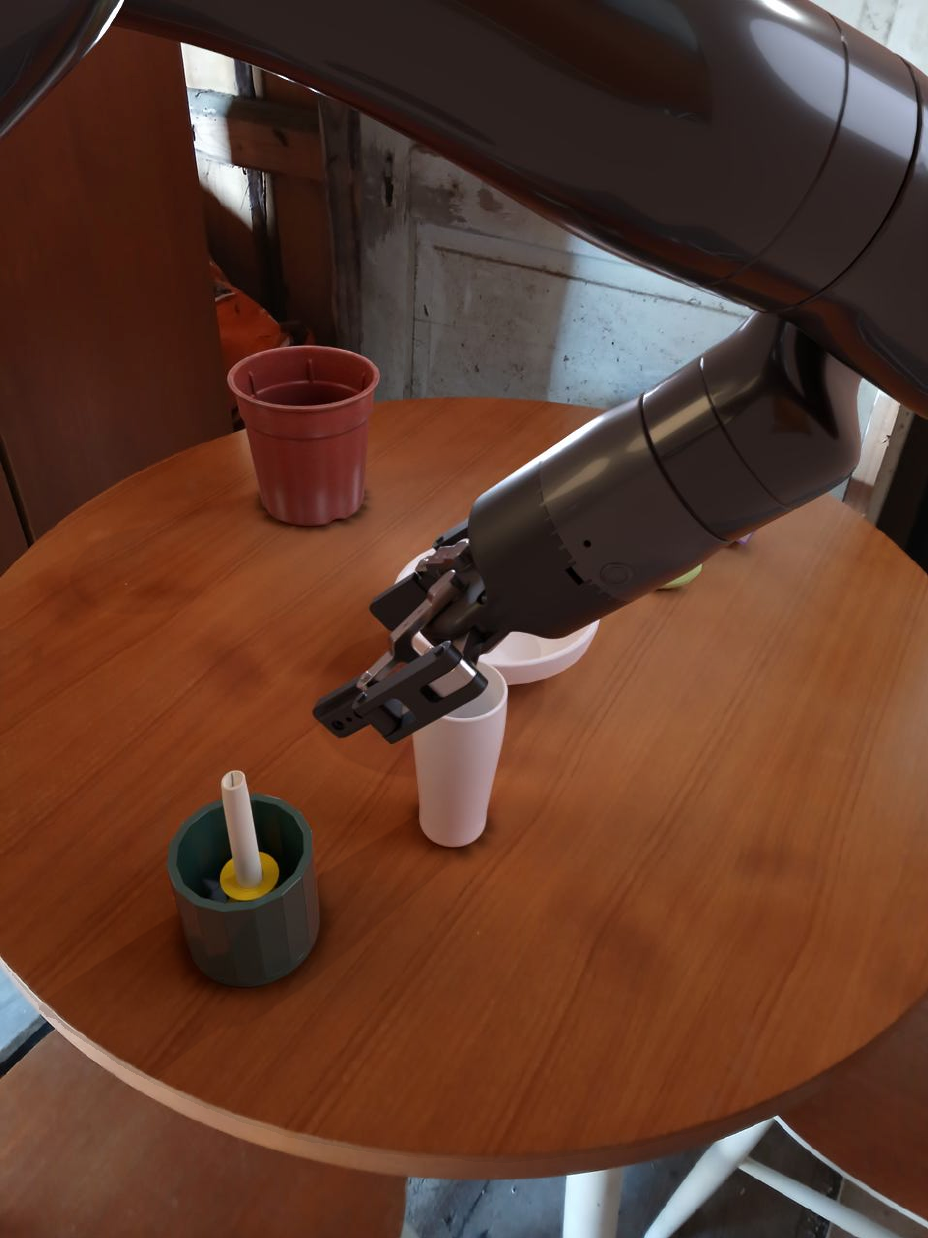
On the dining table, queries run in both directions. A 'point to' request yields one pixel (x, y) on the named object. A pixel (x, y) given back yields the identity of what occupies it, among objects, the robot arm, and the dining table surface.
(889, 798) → the dining table surface
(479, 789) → the drinking glass
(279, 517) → the flower pot
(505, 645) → the bowl
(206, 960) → the cup
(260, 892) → the candle
